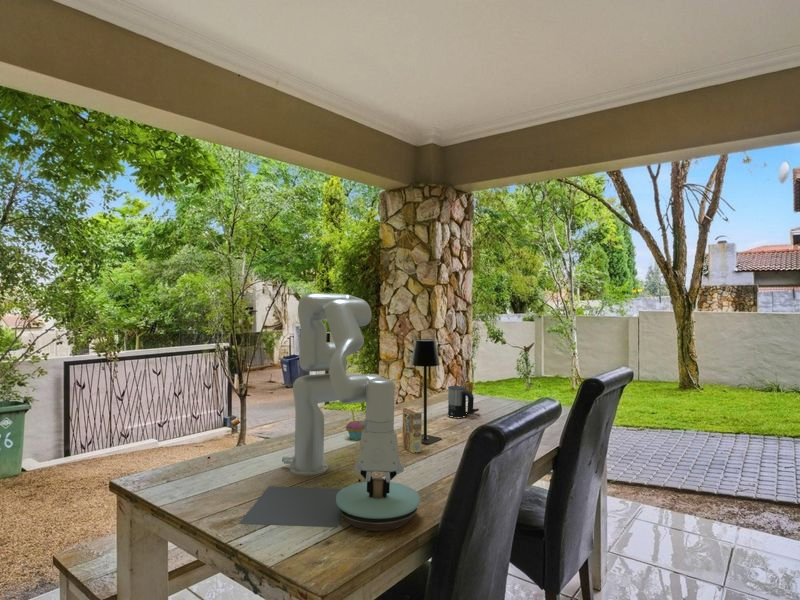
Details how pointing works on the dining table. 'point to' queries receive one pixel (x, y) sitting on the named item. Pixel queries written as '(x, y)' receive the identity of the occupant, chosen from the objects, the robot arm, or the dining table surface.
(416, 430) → the candy box
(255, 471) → the dining table surface
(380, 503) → the lid
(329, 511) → the mat
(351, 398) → the robot arm
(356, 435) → the cupcake
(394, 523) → the plant saucer
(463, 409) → the milk frother
